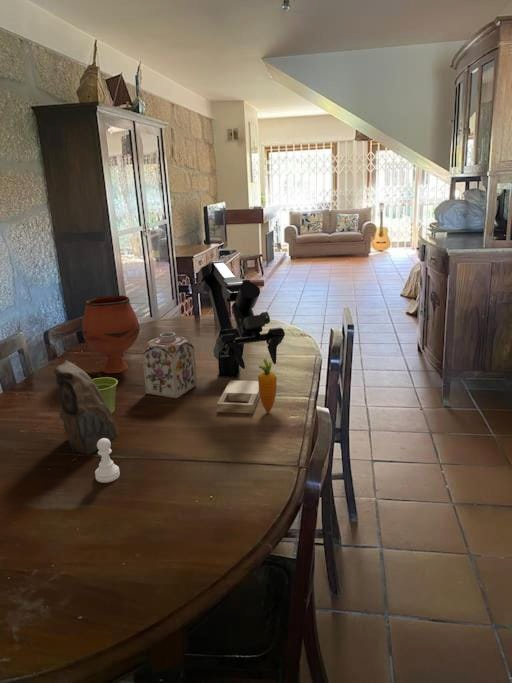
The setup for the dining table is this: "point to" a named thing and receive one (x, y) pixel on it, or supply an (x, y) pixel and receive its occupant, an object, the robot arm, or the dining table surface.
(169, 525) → the dining table surface
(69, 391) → the owl
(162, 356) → the decorative jar
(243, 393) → the open matchbox
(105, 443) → the chess pawn
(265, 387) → the carrot
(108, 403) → the plant pot
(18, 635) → the dining table surface
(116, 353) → the goblet
